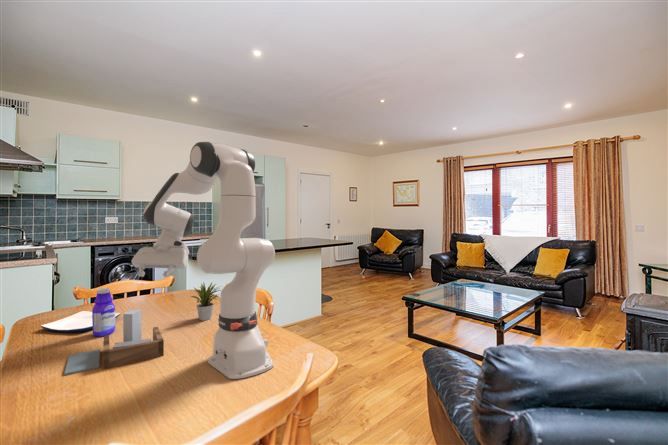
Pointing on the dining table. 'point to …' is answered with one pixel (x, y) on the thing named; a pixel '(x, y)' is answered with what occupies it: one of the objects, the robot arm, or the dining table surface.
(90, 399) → the dining table surface
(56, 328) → the plate
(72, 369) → the slate mat
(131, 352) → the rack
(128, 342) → the offcut stack
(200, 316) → the house plant
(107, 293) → the bottle
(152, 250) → the robot arm
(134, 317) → the grey rectangular block
